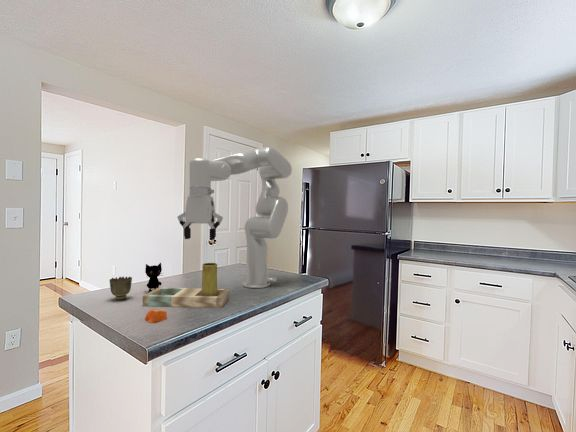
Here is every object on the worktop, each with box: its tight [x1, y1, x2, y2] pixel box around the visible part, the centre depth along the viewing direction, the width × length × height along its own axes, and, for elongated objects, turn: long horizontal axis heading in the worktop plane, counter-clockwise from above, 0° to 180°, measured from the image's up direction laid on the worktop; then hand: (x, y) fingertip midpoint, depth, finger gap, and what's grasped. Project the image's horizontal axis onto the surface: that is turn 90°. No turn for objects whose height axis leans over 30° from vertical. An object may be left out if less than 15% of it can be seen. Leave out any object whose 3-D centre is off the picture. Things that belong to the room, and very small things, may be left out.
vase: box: [201, 262, 218, 296], centre depth 109 cm, size 6×6×14 cm
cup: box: [109, 276, 133, 301], centre depth 110 cm, size 8×7×8 cm
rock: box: [144, 308, 168, 324], centre depth 91 cm, size 12×12×4 cm
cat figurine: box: [144, 262, 165, 293], centre depth 121 cm, size 7×7×12 cm
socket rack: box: [142, 286, 230, 309], centre depth 109 cm, size 28×12×4 cm, turn 89°
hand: (199, 239), depth 108 cm, fingers open, 9 cm apart
